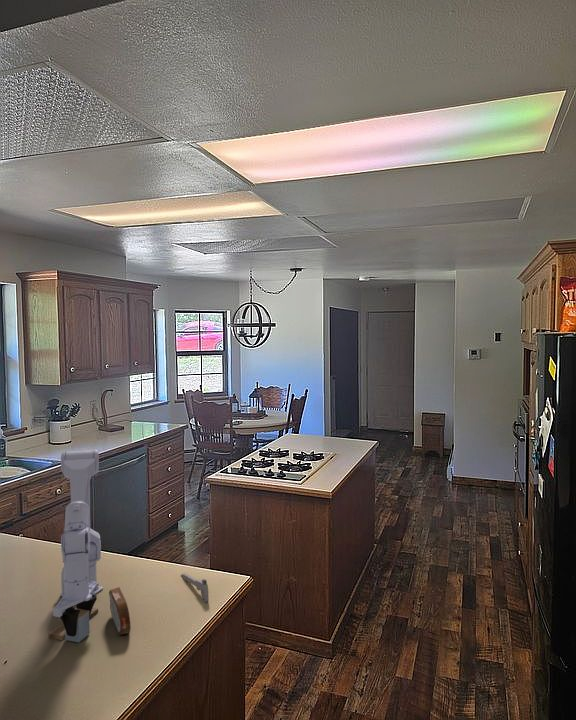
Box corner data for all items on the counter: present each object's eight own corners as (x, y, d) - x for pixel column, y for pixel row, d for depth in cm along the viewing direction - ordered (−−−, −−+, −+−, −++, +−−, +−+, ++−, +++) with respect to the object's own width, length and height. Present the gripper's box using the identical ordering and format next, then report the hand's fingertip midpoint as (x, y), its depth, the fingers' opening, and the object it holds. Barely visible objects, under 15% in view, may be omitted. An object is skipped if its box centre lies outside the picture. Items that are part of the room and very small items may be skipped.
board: (49, 637, 131) (48, 633, 131) (85, 609, 144) (85, 606, 144) (62, 640, 130) (62, 635, 130) (98, 612, 143) (98, 608, 143)
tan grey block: (65, 639, 130) (64, 616, 129) (76, 631, 134) (75, 608, 133) (78, 642, 128) (78, 618, 128) (89, 633, 132) (89, 610, 132)
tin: (131, 638, 131) (131, 605, 130) (118, 642, 129) (118, 608, 129) (119, 611, 144) (119, 581, 143) (107, 614, 142) (107, 584, 142)
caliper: (208, 603, 149) (208, 581, 148) (205, 604, 148) (205, 582, 148) (183, 575, 166) (183, 556, 166) (180, 576, 165) (180, 557, 165)
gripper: (69, 593, 122) (70, 649, 123) (108, 567, 136) (108, 618, 137) (45, 588, 124) (46, 644, 125) (85, 563, 138) (86, 614, 139)
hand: (77, 630), depth 131 cm, fingers closed on tan grey block, 4 cm apart
